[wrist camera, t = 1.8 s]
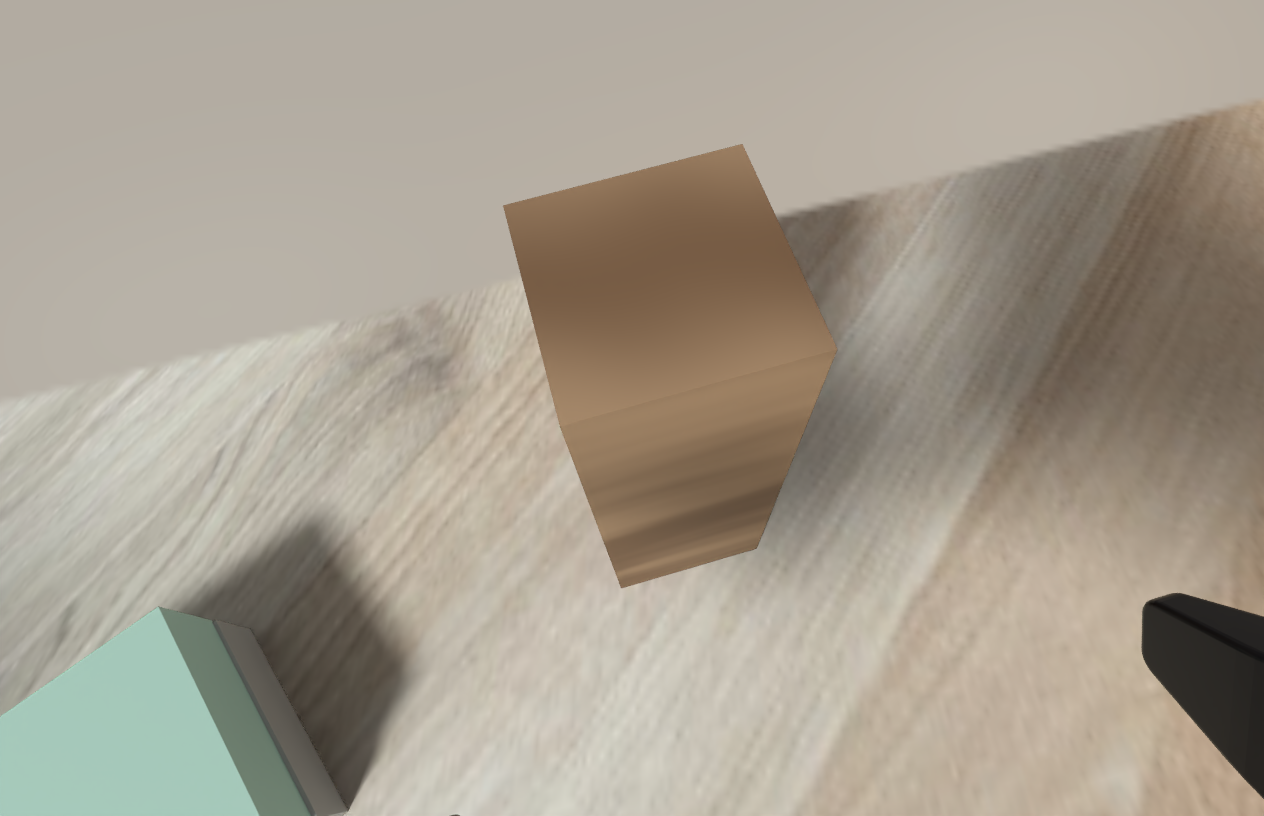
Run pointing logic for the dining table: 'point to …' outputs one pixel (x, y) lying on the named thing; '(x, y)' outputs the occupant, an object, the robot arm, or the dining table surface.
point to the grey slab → (281, 721)
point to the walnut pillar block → (673, 353)
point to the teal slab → (145, 733)
